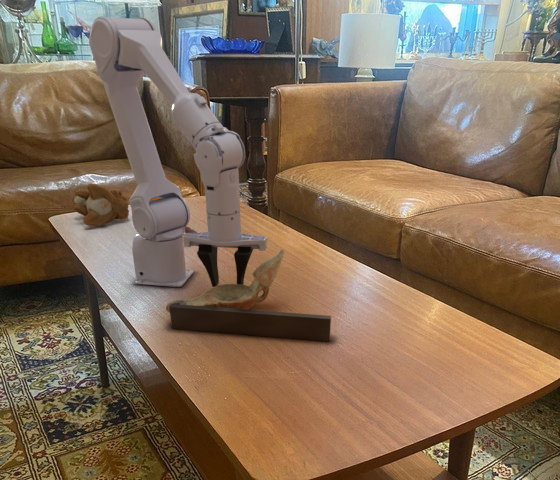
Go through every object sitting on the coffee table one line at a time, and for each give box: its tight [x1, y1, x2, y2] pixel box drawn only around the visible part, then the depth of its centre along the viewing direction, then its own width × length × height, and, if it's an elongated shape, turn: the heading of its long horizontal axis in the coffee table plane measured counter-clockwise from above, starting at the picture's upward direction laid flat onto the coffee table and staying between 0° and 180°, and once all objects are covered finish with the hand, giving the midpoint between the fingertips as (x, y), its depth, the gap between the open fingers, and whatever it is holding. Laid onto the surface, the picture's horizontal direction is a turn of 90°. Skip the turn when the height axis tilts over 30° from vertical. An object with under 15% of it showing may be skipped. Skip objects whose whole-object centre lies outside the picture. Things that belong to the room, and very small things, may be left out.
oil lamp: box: [165, 248, 285, 314], centre depth 93 cm, size 9×21×10 cm, turn 113°
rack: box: [169, 304, 332, 343], centre depth 88 cm, size 26×1×4 cm, turn 80°
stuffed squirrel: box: [72, 183, 130, 226], centre depth 143 cm, size 10×14×13 cm
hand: (227, 285), depth 100 cm, fingers open, 4 cm apart
